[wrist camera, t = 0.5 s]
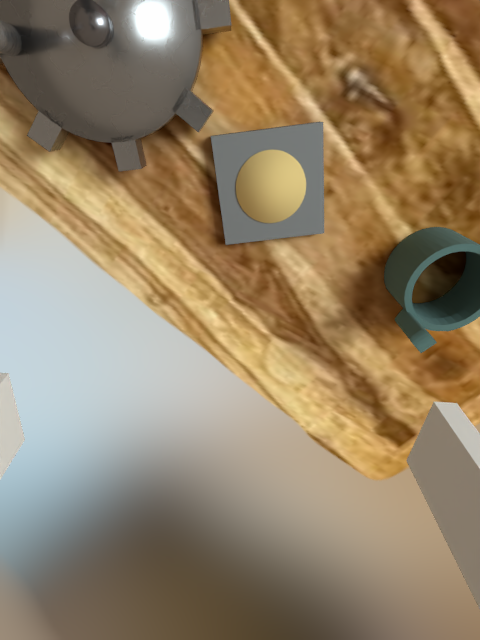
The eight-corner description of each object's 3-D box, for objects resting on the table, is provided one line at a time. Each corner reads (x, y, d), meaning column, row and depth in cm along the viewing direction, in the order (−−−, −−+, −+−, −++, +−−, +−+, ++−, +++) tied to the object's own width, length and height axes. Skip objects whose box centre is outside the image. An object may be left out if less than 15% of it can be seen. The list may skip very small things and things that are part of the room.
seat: (211, 136, 31) (210, 136, 30) (320, 121, 31) (323, 122, 30) (225, 241, 36) (225, 245, 35) (321, 230, 35) (324, 233, 34)
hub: (54, -12, 27) (23, -33, 23) (138, -24, 26) (122, -48, 22) (81, 88, 30) (58, 84, 26) (157, 77, 29) (146, 72, 25)
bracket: (372, 305, 39) (408, 354, 32) (400, 217, 35) (450, 248, 27) (454, 313, 40) (509, 363, 32) (492, 227, 36) (566, 261, 28)
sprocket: (-83, -129, 23) (-196, -216, 17) (210, -177, 22) (202, -285, 16) (30, 180, 32) (-18, 196, 26) (243, 152, 31) (246, 163, 25)
